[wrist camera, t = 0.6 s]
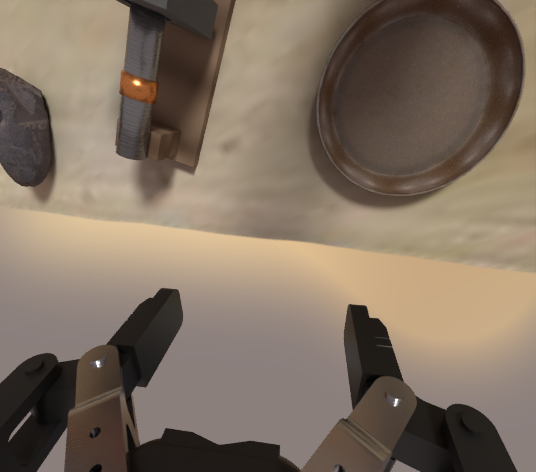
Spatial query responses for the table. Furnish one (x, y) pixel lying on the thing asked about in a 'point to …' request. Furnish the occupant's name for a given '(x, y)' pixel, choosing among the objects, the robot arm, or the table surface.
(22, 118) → the perforated stone tool
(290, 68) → the table surface
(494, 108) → the plant saucer
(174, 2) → the collar
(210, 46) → the pipe stand
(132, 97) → the pipe
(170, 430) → the robot arm
